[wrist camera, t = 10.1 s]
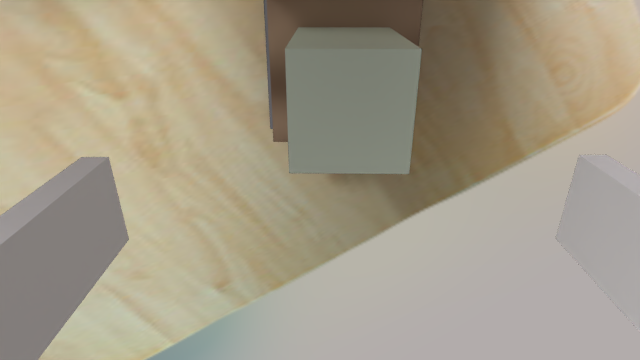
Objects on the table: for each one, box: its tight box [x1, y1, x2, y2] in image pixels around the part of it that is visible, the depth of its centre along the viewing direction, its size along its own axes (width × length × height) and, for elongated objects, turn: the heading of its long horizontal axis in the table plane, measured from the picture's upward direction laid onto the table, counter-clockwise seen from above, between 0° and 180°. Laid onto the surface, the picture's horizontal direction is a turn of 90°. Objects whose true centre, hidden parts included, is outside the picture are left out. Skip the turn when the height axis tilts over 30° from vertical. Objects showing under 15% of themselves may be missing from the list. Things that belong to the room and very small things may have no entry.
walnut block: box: [267, 0, 423, 142], centre depth 31 cm, size 10×10×6 cm
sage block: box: [285, 27, 422, 174], centre depth 24 cm, size 6×6×10 cm
